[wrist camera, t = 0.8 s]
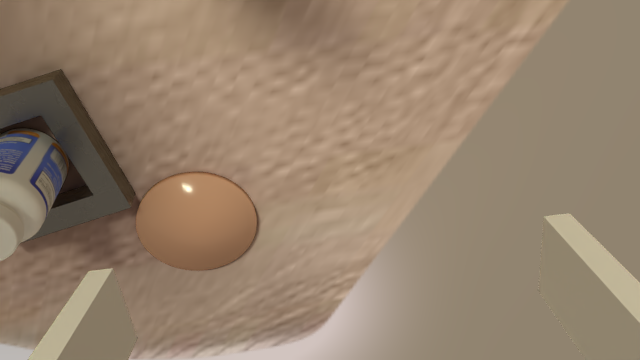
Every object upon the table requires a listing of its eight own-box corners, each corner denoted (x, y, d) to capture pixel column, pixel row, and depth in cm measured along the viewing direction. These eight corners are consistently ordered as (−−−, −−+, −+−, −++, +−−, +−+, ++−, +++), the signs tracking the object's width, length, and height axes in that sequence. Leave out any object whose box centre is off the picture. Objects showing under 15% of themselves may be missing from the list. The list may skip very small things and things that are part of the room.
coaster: (114, 194, 40) (113, 198, 40) (232, 156, 40) (232, 159, 40) (168, 279, 46) (167, 283, 45) (271, 245, 46) (272, 250, 45)
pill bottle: (-22, 165, 37) (-92, 248, 29) (11, 112, 36) (-53, 184, 27) (50, 199, 40) (4, 286, 32) (84, 151, 38) (45, 229, 30)
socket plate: (-89, 118, 35) (-105, 131, 33) (60, 69, 34) (52, 79, 33) (7, 234, 41) (-2, 250, 39) (135, 193, 40) (131, 207, 39)
